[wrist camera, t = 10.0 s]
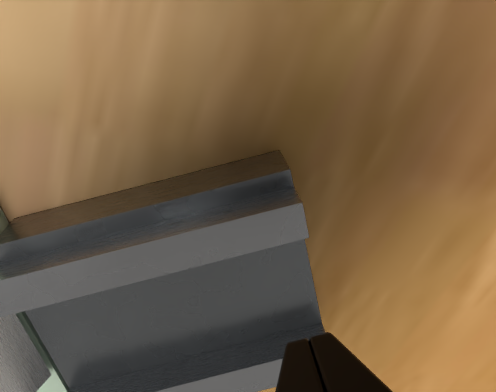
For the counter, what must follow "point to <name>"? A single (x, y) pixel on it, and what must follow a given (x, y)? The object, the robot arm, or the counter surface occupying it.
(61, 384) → the chip tray
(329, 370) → the robot arm
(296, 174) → the counter surface
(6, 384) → the grey cube
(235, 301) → the slot board
